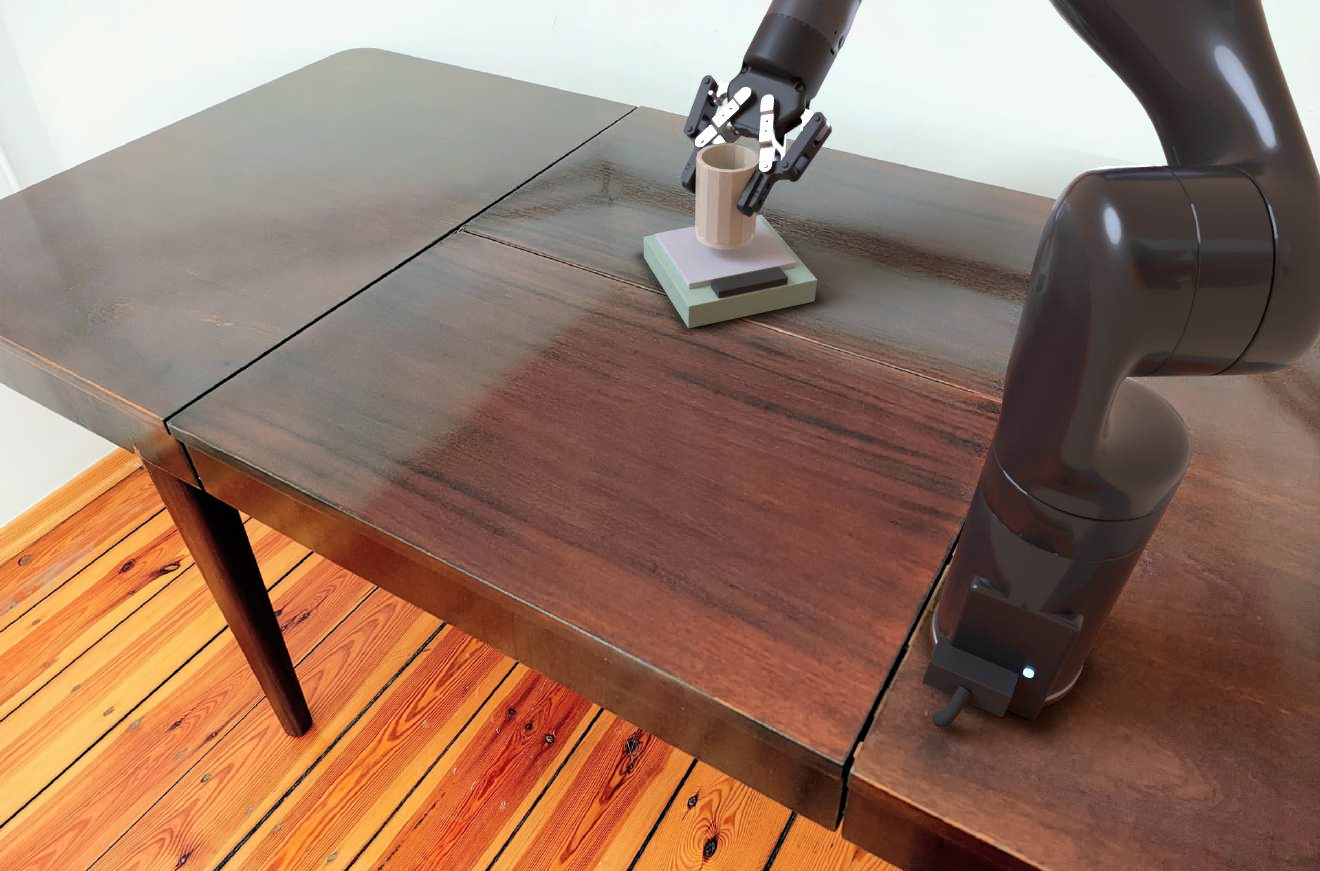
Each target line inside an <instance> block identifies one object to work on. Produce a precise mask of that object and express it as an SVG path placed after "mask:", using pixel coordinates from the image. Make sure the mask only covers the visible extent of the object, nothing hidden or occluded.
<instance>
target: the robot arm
mask: <svg viewBox="0 0 1320 871" xmlns="http://www.w3.org/2000/svg"><path fill="white" fill-rule="evenodd" d="M1048 1H1049V3H1050V5H1051V6H1052V8H1053V9H1054V10H1055V11H1056V12H1057V14H1058V15H1059V16H1060V18H1061V19H1062V20H1063V21H1064V22H1065V23H1066V24H1067V25H1068V27H1069V28H1070V29H1071V30H1072V31H1073V32H1074V33H1075V35H1077V36H1078V37H1079V39H1081V41H1082V42H1083V43H1084V44H1085V45H1086V46H1087V47H1088V49H1090V50H1091V52H1093V54H1095V55H1096V57H1098V59H1099V60H1100V61H1101V62H1102V63H1103V64H1104V65H1105V66H1106V67H1107V68H1108V69H1110V71H1111V72H1112V73H1113V74H1114V75H1115V76H1116V77H1117V78H1118V79H1119V80H1120V81H1121V83H1123V85H1124V86H1125V87H1126V88H1127V89H1128V90H1129V92H1130V93H1131V94H1132V95H1133V96H1134V97H1135V98H1136V100H1137V102H1138V104H1139V105H1140V106H1141V108H1142V109H1143V110H1144V112H1145V113H1146V116H1147V117H1148V119H1149V121H1150V123H1151V125H1152V126H1153V129H1154V131H1155V133H1156V136H1157V138H1158V140H1159V143H1160V145H1161V148H1162V149H1161V150H1162V152H1163V154H1164V158H1165V161H1166V164H1167V165H1163V164H1162V165H1160V164H1159V165H1157V164H1156V165H1115V166H1114V165H1113V166H1102V167H1101V166H1100V167H1095V168H1090V169H1088V170H1086V171H1083V172H1081V173H1080V174H1079V175H1077V176H1075V177H1074V178H1073V179H1072V180H1070V182H1069V183H1068V184H1067V185H1066V186H1065V187H1064V188H1063V190H1062V191H1061V192H1060V194H1058V195H1059V196H1057V198H1056V200H1055V202H1054V204H1053V206H1052V208H1051V210H1050V212H1049V214H1047V218H1046V221H1045V224H1044V226H1043V229H1042V232H1041V234H1040V237H1039V241H1038V245H1037V248H1036V251H1035V255H1034V259H1033V262H1032V264H1033V265H1032V268H1031V272H1030V276H1029V280H1028V286H1027V289H1026V293H1025V297H1024V302H1023V306H1022V310H1021V314H1020V317H1019V322H1018V326H1017V330H1016V334H1015V337H1014V340H1013V344H1012V346H1011V350H1010V355H1009V358H1008V363H1007V367H1006V371H1005V377H1004V382H1003V383H1004V384H1003V390H1002V398H1001V405H1000V413H999V416H998V419H997V423H996V425H995V426H996V427H995V429H994V433H993V436H992V439H991V442H990V445H989V448H988V451H987V453H986V454H987V455H986V457H985V459H984V464H983V466H982V469H981V472H980V475H979V478H978V480H977V483H976V487H975V490H974V493H973V496H972V499H971V502H970V505H969V508H968V512H967V514H966V518H965V519H964V520H965V521H964V523H963V526H962V529H961V533H960V536H959V539H958V542H957V546H956V548H955V551H954V555H953V557H952V560H951V563H950V567H949V570H948V573H947V576H946V579H945V582H944V585H943V589H942V592H941V595H940V598H939V600H938V602H937V604H936V606H935V608H934V611H933V614H932V618H931V620H930V625H929V640H930V645H931V649H932V653H931V656H930V658H929V660H928V664H927V667H926V670H925V673H924V676H923V678H922V684H924V685H927V686H929V687H931V688H934V689H937V690H939V691H941V692H942V693H946V694H948V695H950V696H951V698H950V700H949V701H948V703H947V705H946V706H945V708H943V710H941V711H940V712H936V713H933V715H932V717H931V722H932V723H933V725H934V726H936V727H937V728H942V727H947V726H950V725H951V724H952V723H953V722H954V721H955V720H956V719H957V717H958V716H959V715H960V713H961V712H962V710H963V708H964V707H965V705H966V704H967V703H968V704H970V705H973V706H975V707H977V708H979V709H982V710H984V711H987V712H989V713H991V714H993V715H996V716H997V717H1000V718H1003V717H1004V716H1005V713H1006V711H1009V712H1011V713H1012V714H1013V713H1014V714H1015V715H1018V716H1020V717H1022V718H1025V719H1027V720H1030V721H1035V720H1037V718H1038V716H1039V714H1040V712H1041V710H1042V708H1045V707H1048V706H1051V705H1053V704H1055V703H1057V702H1058V701H1060V700H1062V699H1063V698H1065V697H1066V696H1067V695H1068V694H1069V692H1071V690H1072V689H1073V687H1074V686H1075V684H1076V682H1077V681H1078V679H1079V676H1080V675H1081V673H1082V670H1083V667H1084V664H1085V662H1086V660H1087V658H1088V656H1089V654H1090V652H1091V651H1092V649H1093V646H1094V645H1095V642H1096V641H1097V639H1098V637H1099V635H1100V633H1101V631H1102V630H1103V628H1104V625H1105V624H1106V622H1107V620H1108V618H1109V616H1110V615H1111V612H1113V609H1114V607H1115V605H1116V604H1117V602H1118V599H1119V598H1120V596H1121V594H1122V593H1123V590H1124V588H1125V586H1126V585H1127V583H1128V580H1129V579H1130V577H1131V576H1132V574H1133V573H1134V570H1135V568H1136V566H1137V564H1138V563H1139V561H1140V559H1141V557H1142V555H1143V553H1144V551H1145V549H1146V548H1147V545H1148V544H1149V542H1150V540H1151V539H1152V537H1153V535H1154V533H1155V532H1156V530H1157V528H1158V526H1159V524H1160V522H1161V521H1162V519H1163V517H1164V515H1165V513H1166V512H1167V509H1168V507H1169V505H1170V503H1171V502H1172V500H1173V498H1174V496H1175V495H1176V493H1177V491H1178V489H1179V487H1180V485H1181V483H1182V482H1183V480H1184V478H1185V476H1186V474H1187V471H1188V469H1189V467H1190V463H1191V460H1192V454H1193V442H1192V441H1193V440H1192V436H1191V434H1190V431H1189V428H1188V426H1187V424H1186V422H1185V421H1184V419H1183V417H1182V416H1181V415H1180V413H1179V411H1178V410H1177V409H1176V408H1175V407H1174V406H1173V405H1172V404H1171V403H1170V402H1169V401H1168V400H1167V399H1166V398H1164V396H1162V395H1161V394H1160V393H1158V392H1156V391H1155V390H1154V389H1152V388H1151V387H1150V386H1148V385H1147V384H1144V383H1143V382H1141V381H1139V380H1137V379H1135V378H1177V377H1179V378H1181V377H1183V378H1185V377H1186V378H1187V377H1188V378H1189V377H1190V378H1191V377H1193V378H1194V377H1219V376H1220V377H1221V376H1222V377H1223V376H1254V375H1263V374H1269V373H1270V374H1271V373H1274V372H1275V373H1276V372H1279V371H1282V370H1285V369H1287V368H1290V367H1292V366H1293V365H1295V364H1297V363H1299V362H1300V361H1301V360H1302V359H1303V358H1305V357H1306V356H1307V355H1308V354H1309V353H1310V352H1311V350H1312V349H1313V348H1314V346H1315V345H1316V344H1317V342H1318V341H1319V340H1320V172H1319V169H1318V166H1317V163H1316V160H1315V158H1314V154H1313V152H1312V149H1311V145H1310V144H1309V143H1310V142H1309V140H1308V137H1307V135H1306V132H1305V129H1304V126H1303V124H1302V121H1301V118H1300V116H1299V112H1298V110H1297V107H1296V105H1295V101H1294V99H1293V96H1292V93H1291V91H1290V87H1289V84H1288V82H1287V79H1286V76H1285V74H1284V70H1283V68H1282V65H1281V62H1280V59H1279V57H1278V53H1277V51H1276V47H1275V45H1274V41H1273V38H1272V35H1271V33H1270V32H1271V31H1270V28H1269V25H1268V21H1267V18H1266V12H1265V10H1264V6H1263V2H1262V0H1048ZM862 3H863V0H772V1H771V2H770V5H769V6H768V9H767V11H766V12H765V14H764V17H763V18H762V20H761V22H760V24H759V26H758V28H757V30H756V32H755V34H754V36H753V38H752V40H751V41H750V43H749V45H748V48H747V49H746V51H745V53H744V55H743V58H742V64H741V68H740V70H739V72H738V74H736V75H735V77H733V78H732V79H731V80H730V81H729V82H726V81H718V80H716V79H715V78H714V77H713V76H712V75H710V74H707V75H704V77H702V79H701V81H700V83H699V87H698V90H697V92H696V95H695V97H694V100H693V103H692V106H691V108H690V111H689V114H688V116H687V119H686V122H685V125H684V128H683V133H684V135H686V136H687V138H688V139H689V140H690V141H691V142H692V143H693V144H694V148H693V150H692V152H691V155H690V157H689V159H688V161H687V163H686V164H685V166H684V169H682V170H683V171H682V172H681V177H680V180H682V181H681V186H682V187H683V188H684V189H685V190H686V191H687V192H689V193H691V194H694V195H696V158H697V153H698V152H699V151H700V150H701V149H702V148H704V147H706V146H709V145H712V144H717V143H725V142H726V143H736V142H737V141H738V140H739V139H740V138H742V137H744V138H748V139H755V140H756V141H758V143H759V144H758V145H759V147H760V152H759V154H760V164H759V168H760V170H759V172H758V171H756V170H755V171H754V173H753V174H752V176H751V178H750V180H749V182H748V184H747V186H746V188H745V190H744V192H743V194H742V196H741V198H740V200H739V201H738V204H737V209H738V210H739V211H740V212H741V213H742V214H743V215H746V216H748V217H751V216H752V215H753V213H754V212H756V213H757V214H758V212H759V211H760V210H761V209H762V208H763V206H764V203H765V202H766V200H767V198H768V196H769V194H770V192H771V190H772V189H773V186H774V185H775V184H776V183H777V182H778V181H789V182H792V183H796V182H798V181H799V180H800V179H801V178H802V176H803V175H804V173H805V171H806V170H807V169H808V167H809V166H810V164H811V163H812V161H813V160H814V158H815V157H816V156H817V154H818V153H819V151H820V150H821V149H822V147H823V146H824V144H825V143H826V141H827V140H828V139H829V137H830V135H831V134H832V133H833V126H832V125H831V123H830V122H829V120H828V119H827V117H826V116H825V115H824V114H823V112H822V111H816V112H815V111H814V112H813V111H812V110H810V107H811V102H812V100H814V99H815V98H816V96H817V95H818V93H819V91H820V89H821V87H822V85H823V83H824V81H825V79H826V77H827V75H828V73H829V72H830V70H831V68H832V66H833V65H834V62H835V61H836V59H837V57H838V55H839V53H840V51H841V49H842V48H843V46H844V44H845V41H846V39H847V37H848V35H849V33H850V31H851V30H852V26H853V24H854V21H855V19H856V15H857V14H858V11H859V8H860V6H861V4H862ZM725 100H727V104H726V105H725V106H724V101H725ZM723 106H724V107H723ZM719 107H723V108H722V109H721V110H720V111H719V112H718V113H717V111H718V109H719ZM728 124H730V125H731V126H728ZM799 126H800V128H799V131H800V132H799V134H798V135H797V137H796V138H795V139H794V141H793V142H792V144H791V146H790V147H789V148H788V149H786V148H787V137H788V134H789V133H790V132H792V131H793V130H795V129H796V128H797V127H799ZM786 150H787V151H786Z"/></svg>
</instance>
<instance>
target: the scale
mask: <svg viewBox="0 0 1320 871" xmlns="http://www.w3.org/2000/svg"><path fill="white" fill-rule="evenodd" d="M643 258H644V261H645V262H646V263H647V265H648V266H649V269H651V272H652V273H653V274H654V276H655V278H656V280H657V281H658V283H659V284H660V286H661V287H662V289H663V290H664V292H665V294H666V295H667V297H668V298H669V300H670V302H671V303H672V305H673V306H674V308H675V309H676V311H677V312H678V314H679V316H680V317H681V319H682V321H683V322H684V324H685V325H686V327H687V328H688V329H692V328H693V329H694V328H696V327H697V328H698V327H701V326H706V325H711V324H716V323H720V322H725V321H729V320H734V319H739V318H744V317H750V316H752V315H753V316H754V315H758V314H762V313H767V312H772V311H776V310H777V311H778V310H782V309H786V308H791V307H796V306H800V305H805V304H809V303H813V302H815V300H816V292H817V284H818V279H817V277H815V275H814V274H813V273H812V272H811V270H810V269H808V267H807V265H805V264H804V263H803V261H802V260H801V259H800V258H799V256H797V254H796V253H795V252H794V251H793V249H792V248H791V247H790V246H789V245H788V244H787V243H786V240H784V239H783V238H782V237H781V235H780V234H779V233H778V232H777V231H776V229H774V227H773V226H772V225H771V224H770V223H769V221H768V220H767V219H766V218H765V217H764V215H763V214H757V217H756V230H755V238H754V240H753V241H752V242H751V243H750V244H748V245H746V246H744V247H741V248H738V249H731V250H722V249H715V248H711V247H708V246H706V245H704V244H702V243H701V242H700V241H699V240H698V239H697V238H696V235H695V225H693V226H688V227H683V228H678V229H672V230H667V231H662V232H657V233H654V234H650V235H645V236H643Z"/></svg>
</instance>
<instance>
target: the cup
mask: <svg viewBox="0 0 1320 871" xmlns="http://www.w3.org/2000/svg"><path fill="white" fill-rule="evenodd" d="M759 164H760V152H759V151H758V150H757V149H755V148H754V147H751V146H749V145H747V144H743V143H738V142H734V143H726V142H725V143H717V144H712V145H709V146H706V147H704V148H702V149H701V150H700V151H699V152H698V153H697V158H696V194H695V204H694V205H695V210H694V211H695V212H694V226H695V235H696V238H697V239H698V240H699V241H700V242H701V243H702V244H704V245H706V246H708V247H711V248H715V249H722V250H731V249H738V248H741V247H744V246H746V245H748V244H750V243H751V242H752V241H753V240H754V238H755V230H756V217H757V215H758V212H757V213H756V212H754V213H753V215H752V216H751V217H748V216H746V215H743V214H742V213H741V212H740V211H739V210H738V209H737V204H738V201H739V200H740V198H741V196H742V194H743V192H744V190H745V188H746V186H747V184H748V182H749V180H750V178H751V176H752V174H753V173H754V171H755V170H756V171H758V172H759V170H760V168H759Z"/></svg>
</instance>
